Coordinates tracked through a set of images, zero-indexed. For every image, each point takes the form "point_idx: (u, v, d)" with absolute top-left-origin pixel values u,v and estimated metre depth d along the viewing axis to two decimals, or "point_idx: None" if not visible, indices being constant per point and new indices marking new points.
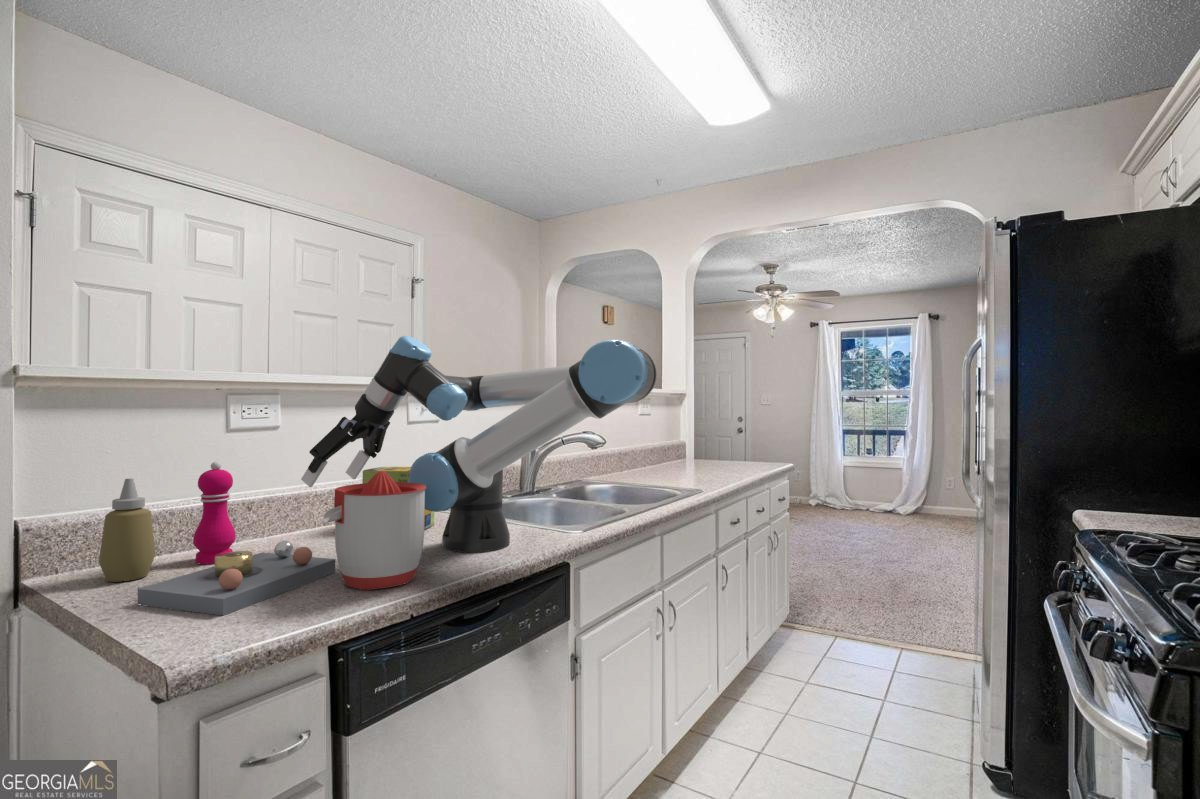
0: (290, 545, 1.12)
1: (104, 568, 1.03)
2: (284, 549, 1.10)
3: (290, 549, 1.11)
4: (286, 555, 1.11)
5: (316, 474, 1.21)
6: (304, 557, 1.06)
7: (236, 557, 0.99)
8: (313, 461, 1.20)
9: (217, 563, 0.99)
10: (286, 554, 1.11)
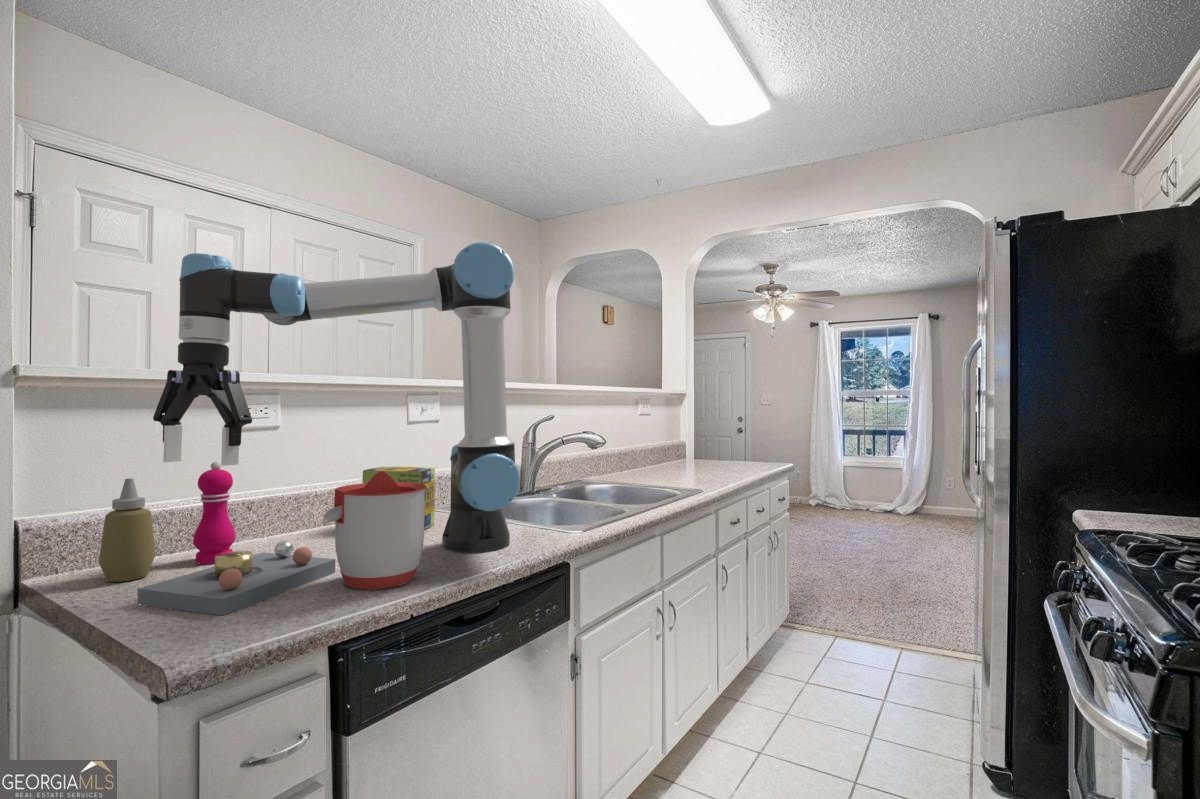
0: (290, 545, 1.12)
1: (104, 568, 1.03)
2: (284, 549, 1.10)
3: (290, 549, 1.11)
4: (286, 555, 1.11)
5: (237, 446, 1.03)
6: (304, 557, 1.06)
7: (236, 557, 0.99)
8: (236, 433, 1.01)
9: (217, 563, 0.99)
10: (286, 554, 1.11)
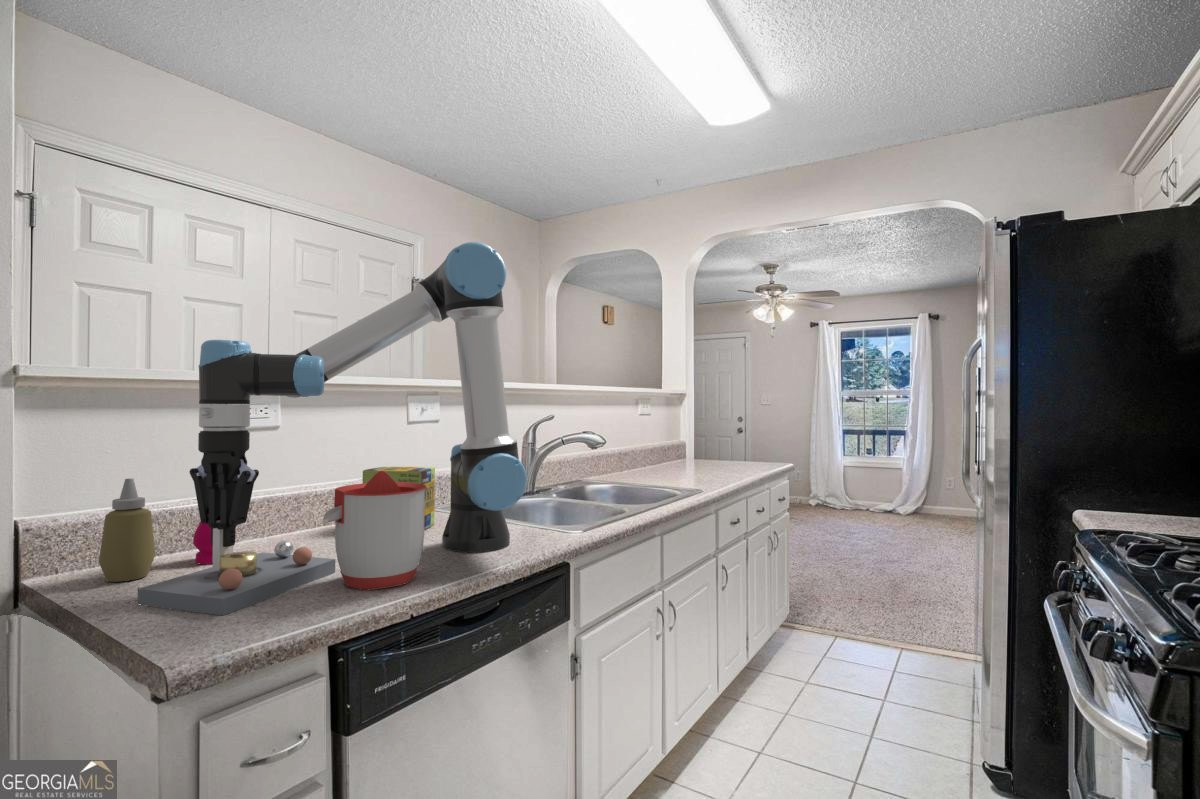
0: (290, 545, 1.12)
1: (104, 568, 1.03)
2: (284, 549, 1.10)
3: (290, 549, 1.11)
4: (286, 555, 1.11)
5: None
6: (304, 557, 1.06)
7: (241, 557, 0.99)
8: (230, 533, 1.01)
9: (221, 563, 0.98)
10: (286, 554, 1.11)
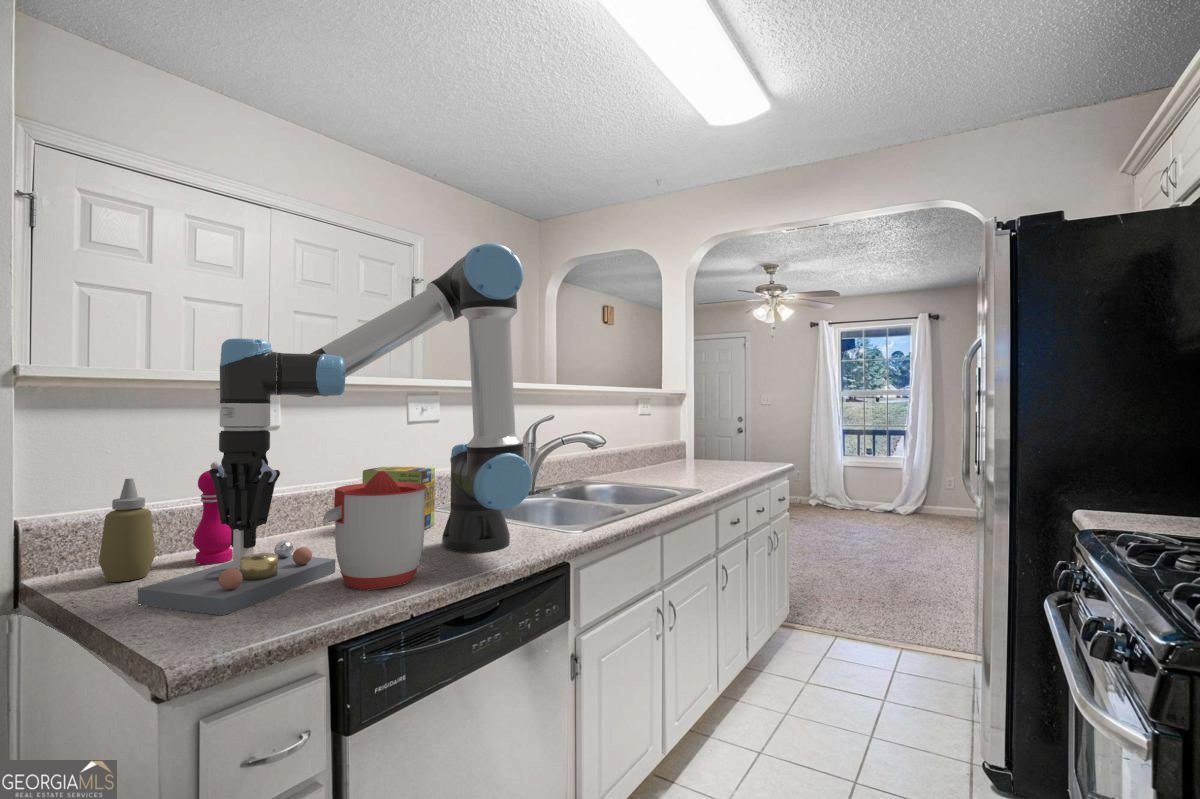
0: (290, 545, 1.12)
1: (104, 568, 1.03)
2: (284, 549, 1.10)
3: (290, 549, 1.11)
4: (286, 555, 1.11)
5: (252, 546, 1.02)
6: (304, 557, 1.06)
7: (262, 559, 0.98)
8: (250, 534, 1.00)
9: (243, 565, 0.97)
10: (286, 554, 1.11)
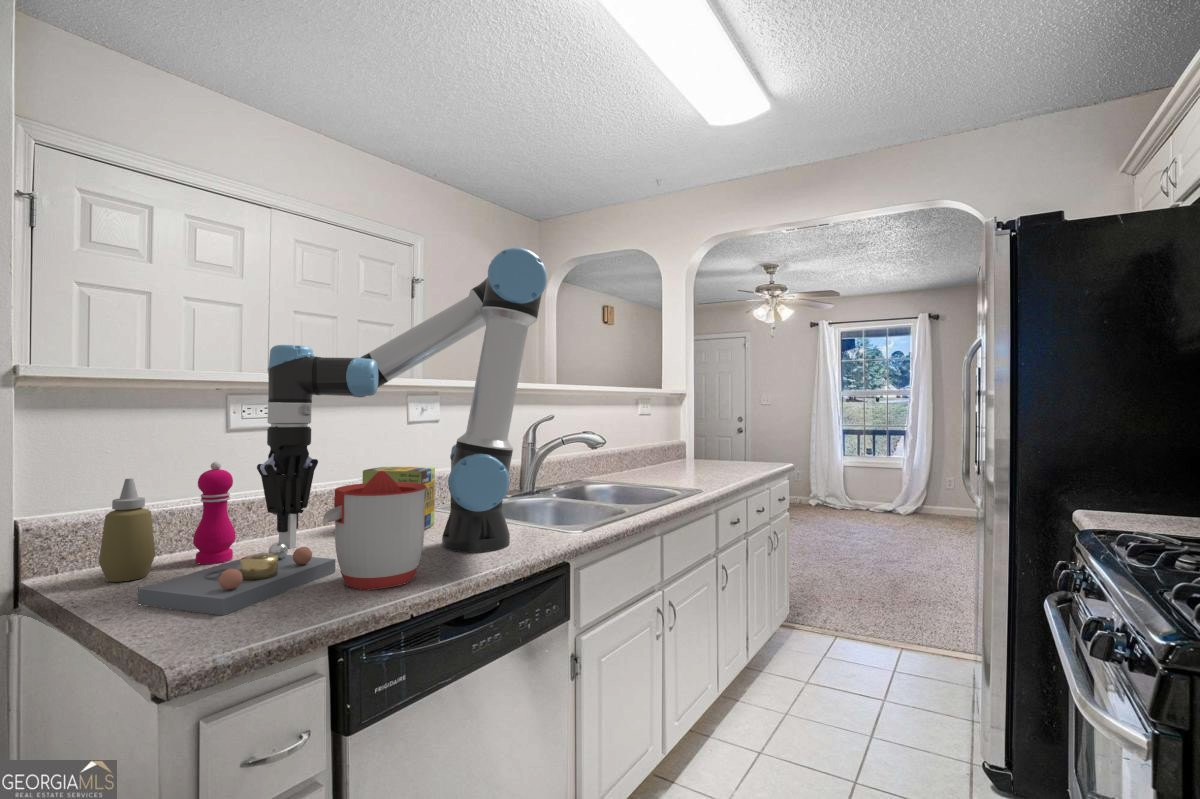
0: (282, 548, 1.10)
1: (104, 568, 1.03)
2: (278, 555, 1.09)
3: (284, 551, 1.10)
4: (284, 556, 1.10)
5: None
6: (304, 557, 1.06)
7: (262, 559, 0.98)
8: None
9: (243, 565, 0.97)
10: (283, 556, 1.10)
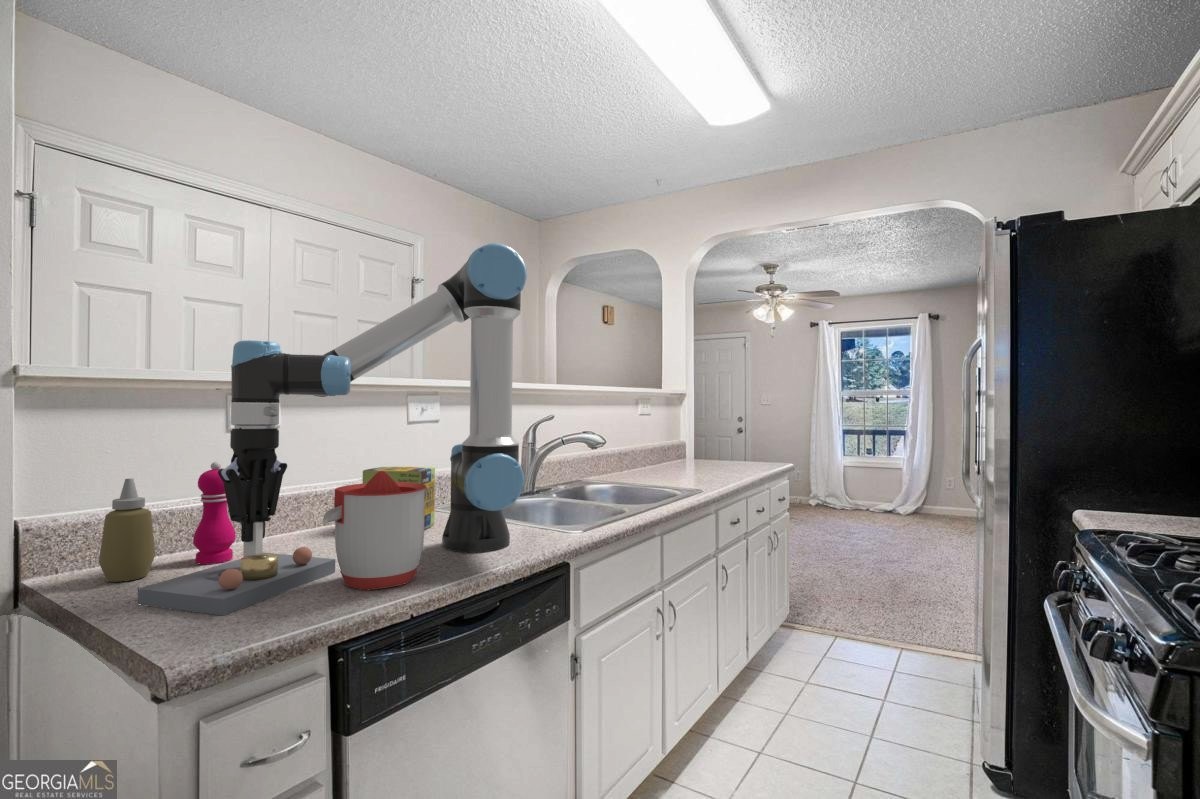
0: None
1: (104, 568, 1.03)
2: None
3: None
4: None
5: None
6: (304, 557, 1.06)
7: (262, 559, 0.98)
8: None
9: (243, 565, 0.97)
10: None
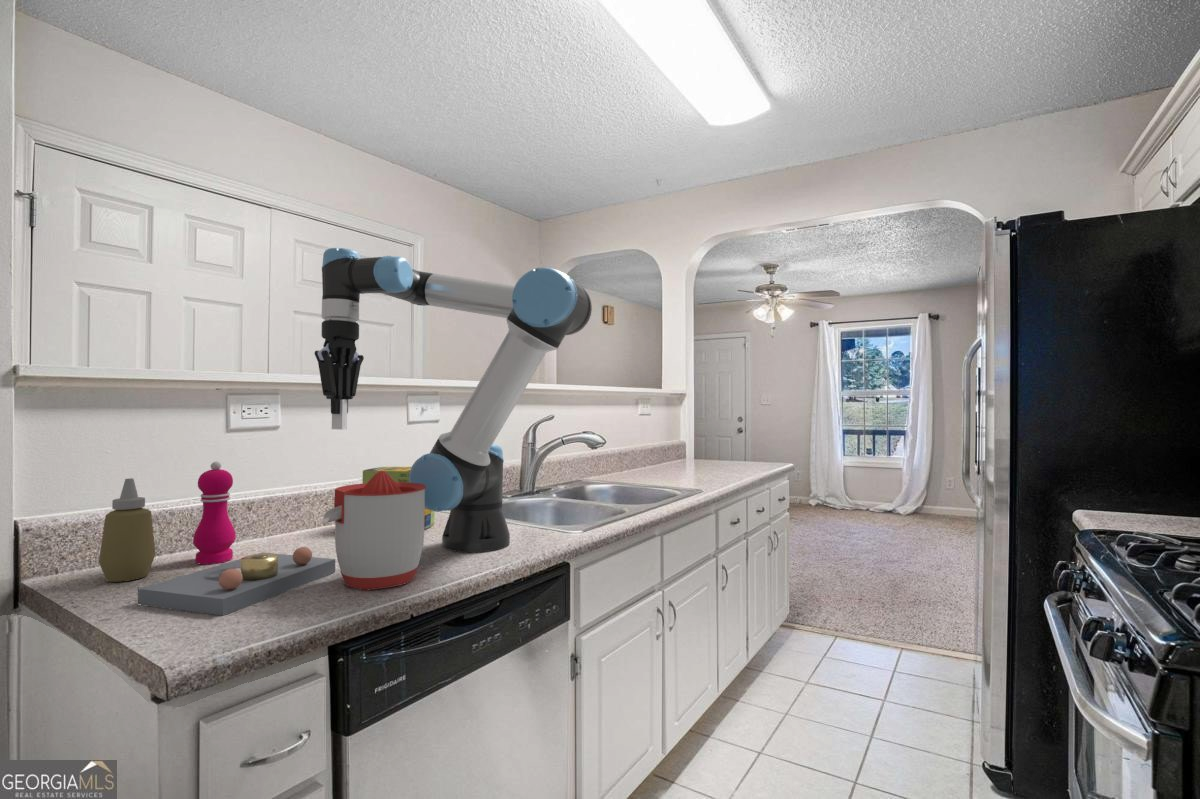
0: None
1: (104, 568, 1.03)
2: None
3: None
4: None
5: None
6: (304, 557, 1.06)
7: (262, 559, 0.98)
8: None
9: (243, 565, 0.97)
10: None
